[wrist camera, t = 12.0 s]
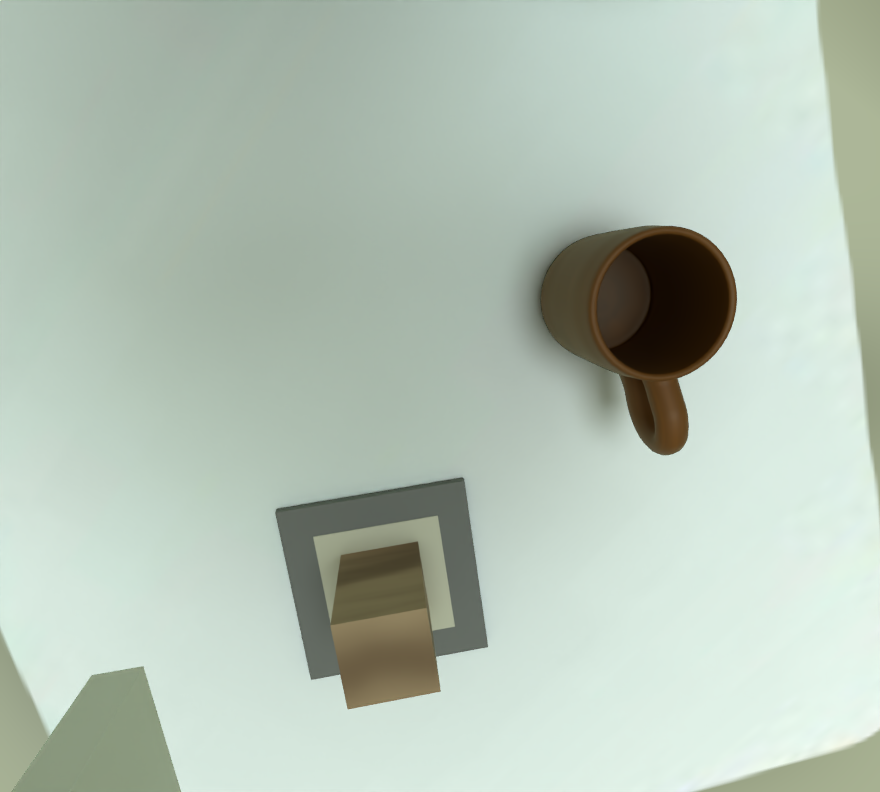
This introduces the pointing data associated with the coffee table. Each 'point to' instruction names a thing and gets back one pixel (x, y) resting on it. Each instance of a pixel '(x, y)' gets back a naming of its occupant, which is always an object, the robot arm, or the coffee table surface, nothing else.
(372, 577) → the walnut block
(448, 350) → the coffee table surface
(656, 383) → the mug
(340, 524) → the mat
